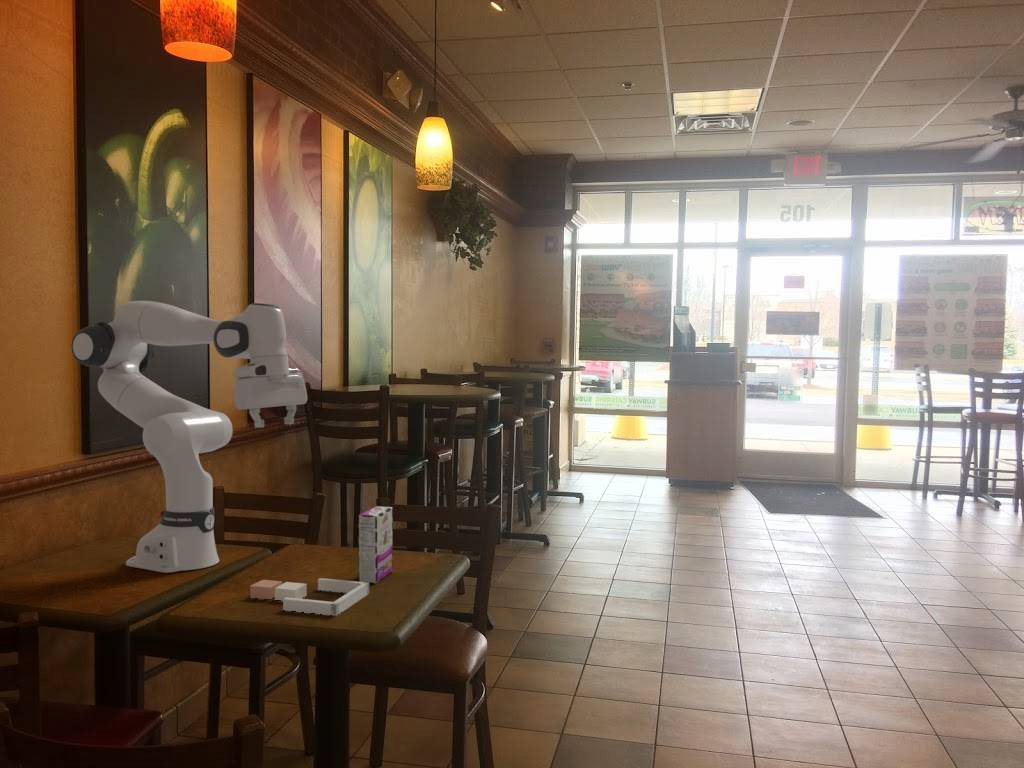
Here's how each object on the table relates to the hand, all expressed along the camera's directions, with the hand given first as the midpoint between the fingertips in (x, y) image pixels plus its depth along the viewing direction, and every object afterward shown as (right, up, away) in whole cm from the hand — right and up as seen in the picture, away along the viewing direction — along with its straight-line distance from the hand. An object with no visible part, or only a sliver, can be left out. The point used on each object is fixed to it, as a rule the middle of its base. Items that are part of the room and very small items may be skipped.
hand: (274, 425), depth 194 cm
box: (+17, -38, -19) cm, 46 cm away
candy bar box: (+24, -37, +1) cm, 45 cm away
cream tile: (+9, -38, -17) cm, 42 cm away
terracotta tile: (+3, -38, -16) cm, 41 cm away
